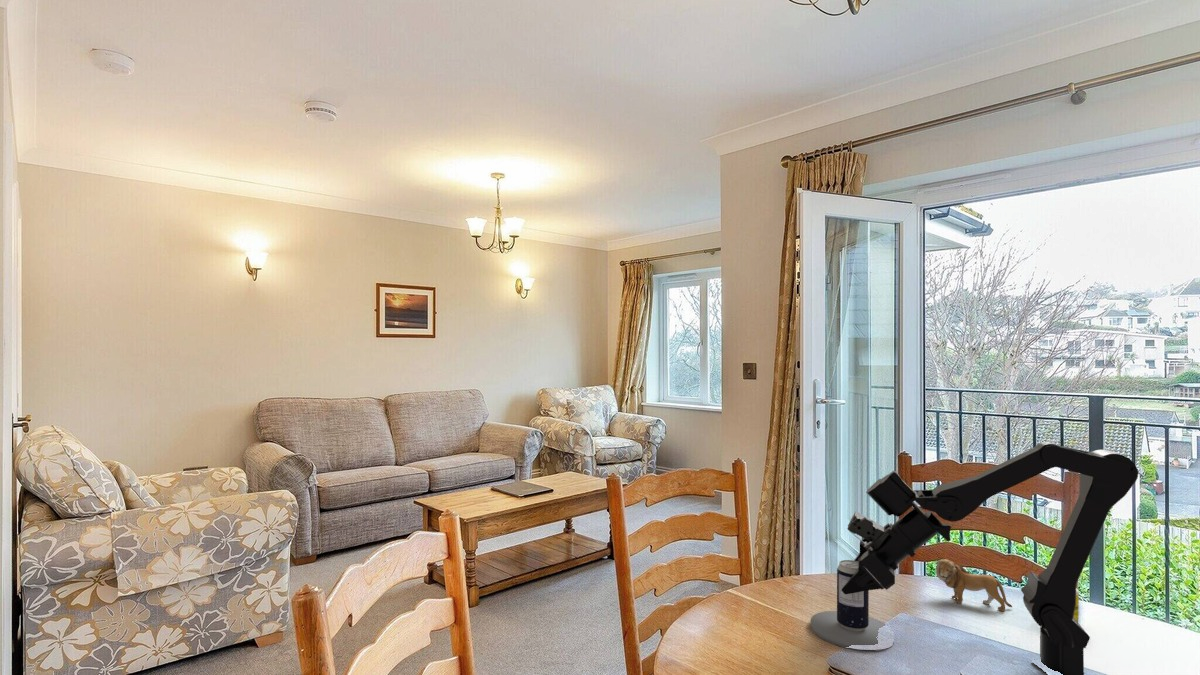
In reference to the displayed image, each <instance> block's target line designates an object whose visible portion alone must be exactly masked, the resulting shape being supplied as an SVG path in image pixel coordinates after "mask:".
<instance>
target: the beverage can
mask: <svg viewBox="0 0 1200 675" xmlns="http://www.w3.org/2000/svg"><path fill="white" fill-rule="evenodd" d="M838 563H839V564H838V566H837V568H836V611H837V621H838V622H839V623H840V624H841V626H842V627H843V628H845V629H847V630H851V631H863V630H864V629H865V628H866V627H868V625H869V617H870V616H869V615H870V614H869V612H870V611H869V609H870V608H869V604H870V603H869V601H870V600H869V597H870V596H869V594H870V593H869V591H870V590H868V591H862V592H857V593H851V594H844V593H843V592H842V590H841V589H842V588H843V587H844V585H845V584H846V583H847V582H848V581H849V580H850V578H851V577H852V576H853V575H854V574H855V573H856V571H857V570H858V561H854V559H853V560H852V559H851V560H850V559H844V560H843V559H842V560H840V561H839V562H838Z"/></svg>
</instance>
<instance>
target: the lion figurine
mask: <svg viewBox="0 0 1200 675" xmlns="http://www.w3.org/2000/svg"><path fill="white" fill-rule="evenodd" d="M935 568H936V569H935V573H936V576H937V578H938V579H939V580H941V581H942V582H943V583H944V584H946V586H947V587H948V588H950V589H953V594H954V595H952V596H951V597H952V598H955V599H954V602H955V603H956V602H957V603H956V604H958V603H961V604H963V601H964V598H963V597H964V595H963V594H964V591H965V590H967V591H970V592H979V591H981V590H985V592H986V593H987V597H988V598H987V599H985V600H984V599H983V600H982V603H983V604H985V605H989V604H991V603H992V602H993V601H995V600H996V602H998V603H999V604H1000V606H998V607H997V610H998V611H1000V612H1004V611H1006V606H1007V607H1009V608H1013V605H1012V604H1010V603H1009V602H1008V601H1007V596H1006V593H1005V591H1004V587H1003V585H1002V584H1001V582H1000V581H999V580H998V579H997V578H995V577H994V576H992V575H988V574H973V573H970V572H968V571H967V570H965V569H966V568H964V567H963V566H961V565H958V564H956V563H955V562H954V561H952V560H950V559H945V558H944V559H943V558H942V559H939V560H938V561H936V566H935ZM998 588H999V589H998ZM999 591H1000V593H999ZM1000 594H1001V595H1000ZM952 598H951V599H952ZM956 598H958V599H956Z"/></svg>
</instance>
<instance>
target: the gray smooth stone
mask: <svg viewBox="0 0 1200 675" xmlns="http://www.w3.org/2000/svg"><path fill="white" fill-rule="evenodd" d="M885 624H886V623H885V622H883V621H881V620H878V619H876V618H874V617H871V616H869V625H868V627H866V628H865V629H864V630H863V631H851V630H847V629H845V628H843V627H842V626H841V624H840V623H839V622H838V621H837V610H828V611H821V612H817V613H815V614H813V615H812V616H811V618H810V629H811V631H812V632H813V634H814V635H815V636H816V637H817V638H819V639H821V640H822V641H825V642H827V643H829V644H832V645H834V646H838V647H840V648H844V649H847V648H846V647H849V646H851V645H875V644H878V640H877V638H878V637H877V636H878V633H879V632H878V630H879V628H881V627H883V626H885ZM876 637H877V638H876Z"/></svg>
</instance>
